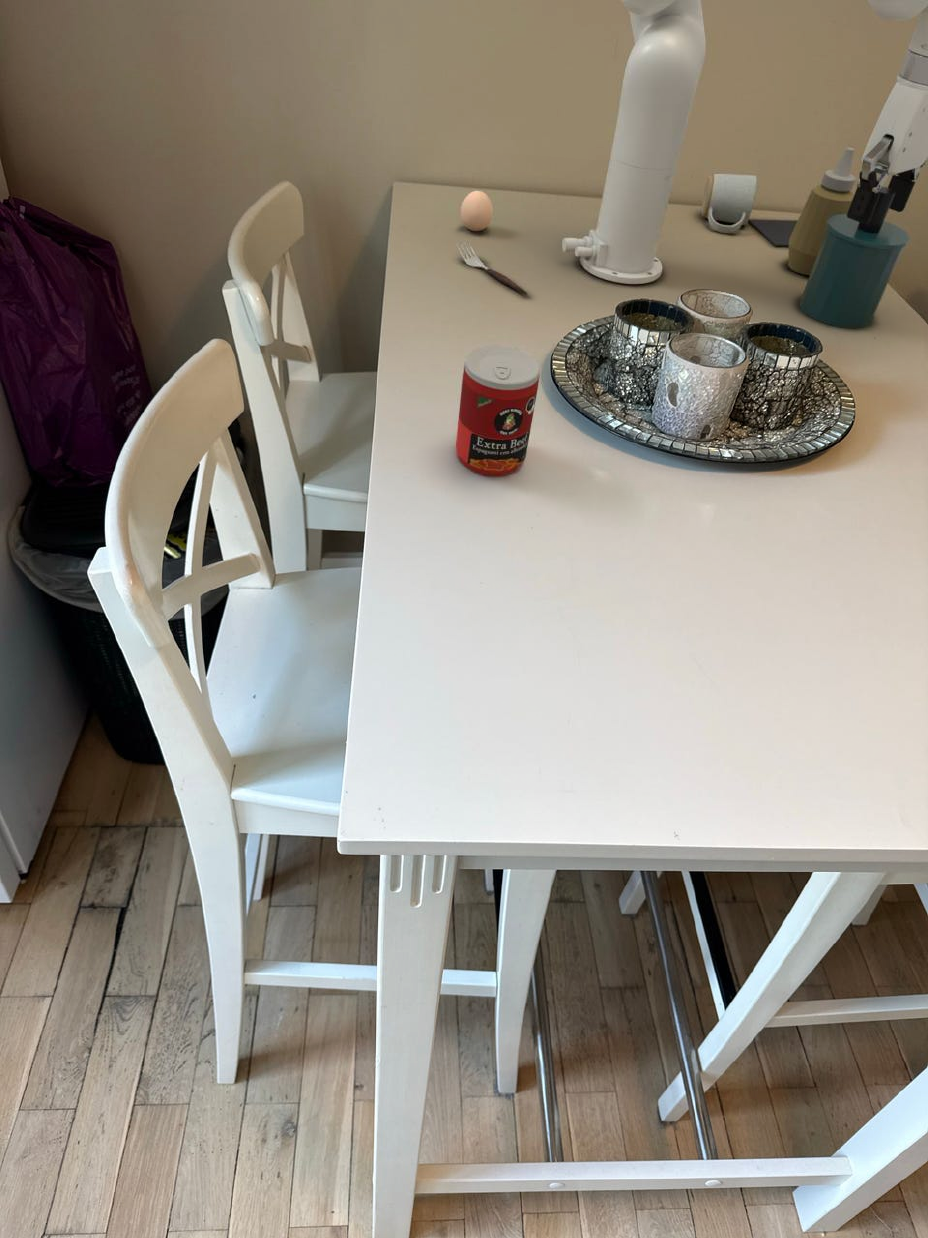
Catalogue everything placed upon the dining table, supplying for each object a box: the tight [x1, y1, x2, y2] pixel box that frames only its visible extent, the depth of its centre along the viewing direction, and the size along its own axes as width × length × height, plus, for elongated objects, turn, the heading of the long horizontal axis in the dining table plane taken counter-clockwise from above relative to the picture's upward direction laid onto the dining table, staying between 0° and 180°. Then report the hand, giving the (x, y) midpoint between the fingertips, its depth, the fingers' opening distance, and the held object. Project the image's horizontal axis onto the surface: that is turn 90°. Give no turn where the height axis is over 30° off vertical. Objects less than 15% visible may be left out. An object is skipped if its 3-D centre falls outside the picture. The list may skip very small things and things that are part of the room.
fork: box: [455, 240, 528, 295], centre depth 128 cm, size 3×16×2 cm, turn 36°
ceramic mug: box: [700, 173, 758, 234], centre depth 151 cm, size 11×8×8 cm
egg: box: [460, 190, 494, 232], centre depth 139 cm, size 5×5×6 cm
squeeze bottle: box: [787, 146, 856, 276], centre depth 136 cm, size 8×8×18 cm
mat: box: [747, 219, 798, 248], centre depth 153 cm, size 11×11×1 cm
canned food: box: [455, 344, 541, 477], centre depth 91 cm, size 8×8×11 cm
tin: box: [799, 228, 904, 329], centre depth 127 cm, size 10×10×12 cm
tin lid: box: [827, 186, 910, 250], centre depth 121 cm, size 11×11×6 cm
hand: (874, 214), depth 121 cm, fingers open, 9 cm apart
